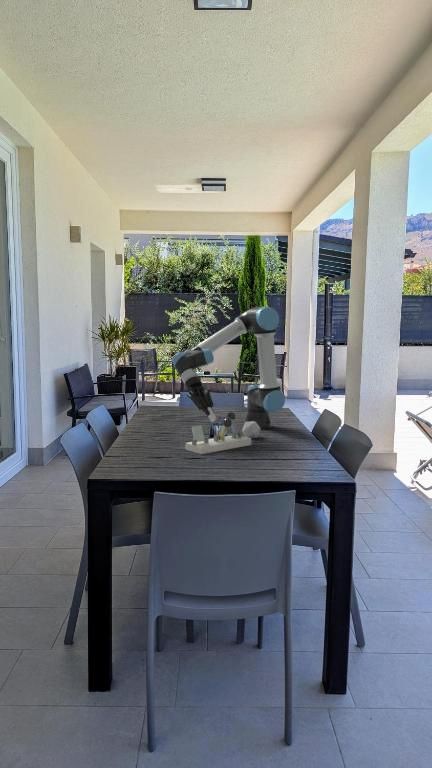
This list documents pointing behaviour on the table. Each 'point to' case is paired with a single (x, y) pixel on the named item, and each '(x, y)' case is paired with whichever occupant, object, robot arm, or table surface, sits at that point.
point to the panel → (217, 443)
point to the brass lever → (224, 428)
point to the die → (251, 429)
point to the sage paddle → (198, 433)
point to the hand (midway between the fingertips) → (213, 420)
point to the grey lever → (233, 422)
